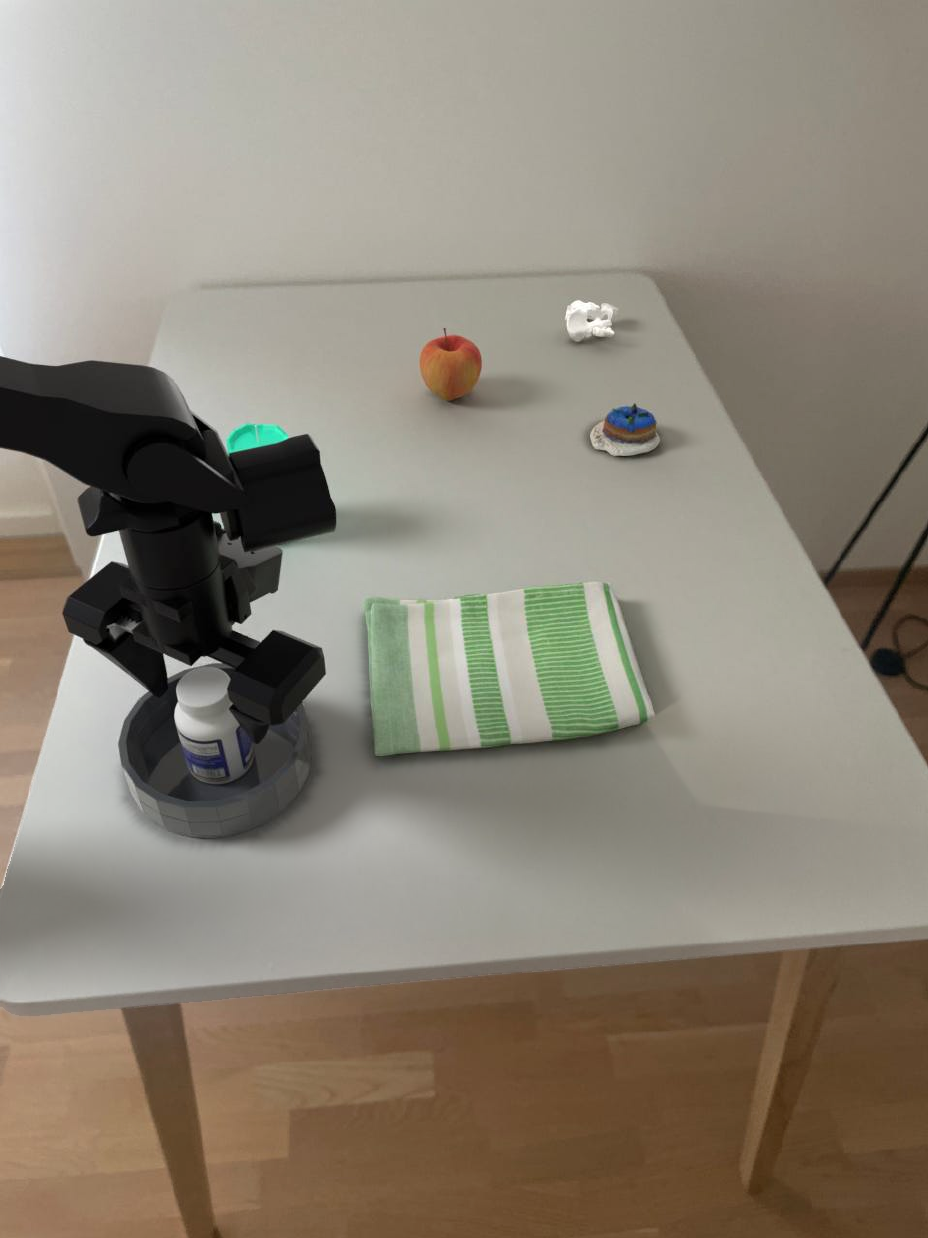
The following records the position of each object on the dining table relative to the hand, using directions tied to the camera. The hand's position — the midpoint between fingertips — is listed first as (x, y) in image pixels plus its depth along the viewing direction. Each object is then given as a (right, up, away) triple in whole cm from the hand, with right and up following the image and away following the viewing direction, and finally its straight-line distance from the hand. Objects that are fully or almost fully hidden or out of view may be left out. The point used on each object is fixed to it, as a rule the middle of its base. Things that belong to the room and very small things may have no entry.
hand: (210, 715), depth 74 cm
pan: (0, -4, +4) cm, 6 cm away
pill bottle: (0, -4, +4) cm, 6 cm away
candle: (-1, +17, +25) cm, 30 cm away
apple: (+18, +34, +44) cm, 59 cm away
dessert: (+38, +28, +39) cm, 61 cm away
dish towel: (+23, +3, +12) cm, 26 cm away
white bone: (+36, +45, +56) cm, 81 cm away
